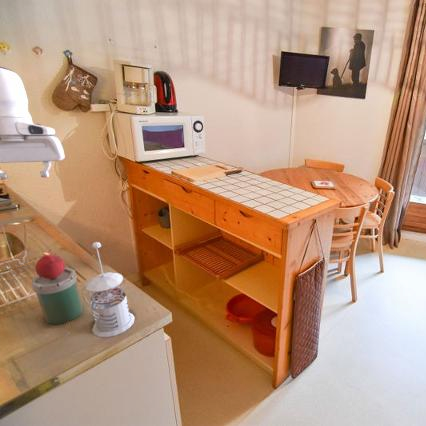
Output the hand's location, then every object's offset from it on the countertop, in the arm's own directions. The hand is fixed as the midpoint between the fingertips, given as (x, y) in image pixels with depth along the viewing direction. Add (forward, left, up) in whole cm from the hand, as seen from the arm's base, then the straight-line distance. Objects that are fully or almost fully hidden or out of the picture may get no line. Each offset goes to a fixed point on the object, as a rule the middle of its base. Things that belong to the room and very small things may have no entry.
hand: (25, 178), depth 92 cm
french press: (+20, -32, -33) cm, 50 cm away
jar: (+8, -24, -32) cm, 41 cm away
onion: (+8, -24, -21) cm, 33 cm away
